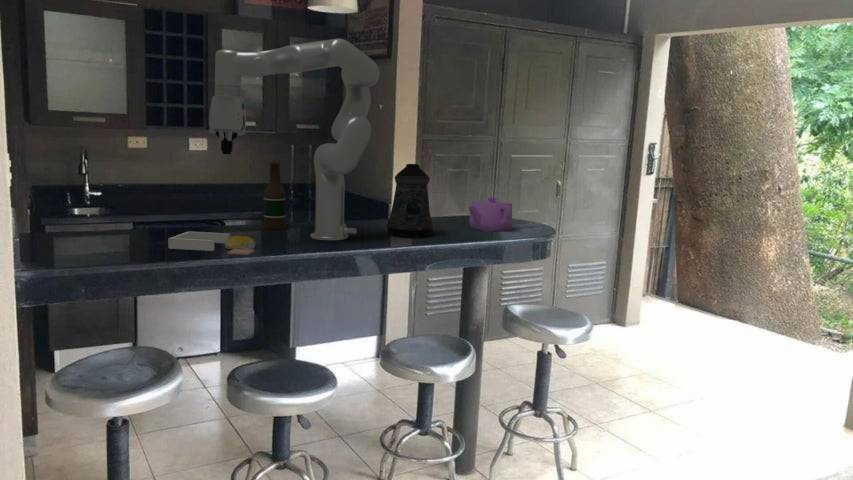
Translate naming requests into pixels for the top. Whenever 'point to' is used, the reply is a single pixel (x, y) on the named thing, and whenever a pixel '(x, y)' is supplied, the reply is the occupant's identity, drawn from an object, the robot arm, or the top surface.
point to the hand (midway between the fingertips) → (226, 153)
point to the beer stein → (410, 205)
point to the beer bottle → (274, 200)
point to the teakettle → (491, 215)
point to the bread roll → (239, 242)
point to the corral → (197, 240)
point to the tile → (240, 251)
